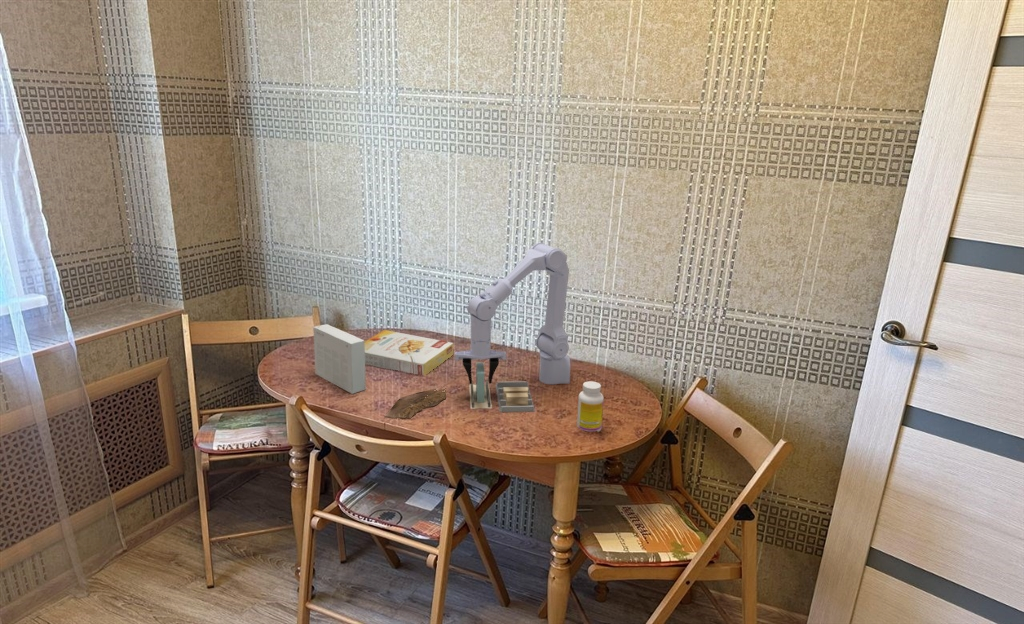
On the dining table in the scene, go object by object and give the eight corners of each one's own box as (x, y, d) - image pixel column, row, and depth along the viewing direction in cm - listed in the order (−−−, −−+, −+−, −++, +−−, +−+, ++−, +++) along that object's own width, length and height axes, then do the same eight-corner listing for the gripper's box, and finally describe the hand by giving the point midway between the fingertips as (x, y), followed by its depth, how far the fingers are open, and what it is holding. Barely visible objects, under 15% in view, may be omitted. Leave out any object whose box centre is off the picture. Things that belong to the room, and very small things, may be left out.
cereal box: (383, 328, 223) (454, 340, 213) (384, 343, 224) (454, 355, 215) (350, 348, 205) (425, 362, 195) (351, 364, 207) (425, 378, 197)
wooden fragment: (399, 424, 167) (399, 421, 167) (372, 412, 173) (372, 409, 173) (463, 393, 186) (463, 390, 186) (437, 383, 193) (437, 380, 192)
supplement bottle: (604, 433, 165) (608, 389, 161) (581, 435, 163) (584, 391, 159) (596, 421, 171) (599, 378, 167) (573, 423, 169) (576, 380, 166)
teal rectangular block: (484, 402, 178) (484, 373, 175) (477, 402, 178) (477, 373, 175) (482, 390, 186) (483, 362, 183) (476, 390, 186) (476, 362, 183)
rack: (527, 386, 192) (527, 378, 191) (535, 414, 174) (535, 406, 173) (495, 386, 191) (495, 379, 190) (499, 415, 173) (499, 407, 172)
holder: (488, 387, 190) (488, 379, 189) (491, 411, 175) (492, 403, 174) (469, 387, 190) (469, 380, 189) (470, 411, 175) (470, 403, 174)
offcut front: (526, 405, 177) (527, 392, 176) (527, 409, 174) (528, 396, 173) (505, 406, 176) (506, 393, 175) (506, 410, 174) (506, 397, 173)
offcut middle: (526, 399, 181) (527, 386, 179) (527, 403, 178) (528, 390, 177) (502, 399, 180) (503, 387, 179) (503, 403, 178) (503, 391, 176)
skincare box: (367, 389, 187) (365, 340, 182) (352, 395, 183) (349, 344, 178) (330, 369, 200) (326, 322, 196) (314, 374, 197) (310, 326, 192)
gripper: (505, 333, 181) (504, 376, 185) (455, 333, 180) (455, 376, 184) (507, 341, 174) (505, 386, 178) (455, 342, 173) (455, 386, 177)
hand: (480, 382), depth 181 cm, fingers open, 5 cm apart
